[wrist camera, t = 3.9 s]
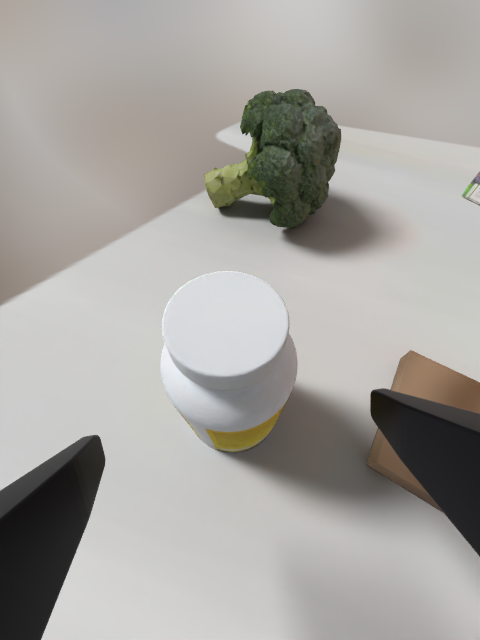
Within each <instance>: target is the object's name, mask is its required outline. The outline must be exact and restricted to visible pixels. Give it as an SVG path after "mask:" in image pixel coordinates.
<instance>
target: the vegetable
mask: <svg viewBox="0 0 480 640" xmlns="http://www.w3.org/2000/svg"><path fill="white" fill-rule="evenodd" d="M240 128H241V131H242V134H244V133H246V135H247V134H248V133H249V131H250V135H251V137H253V138H252V146H251V149H250V152H248V153H246V154H245V155H246V159H245V160H244V161H242V162H241V163H240V164H233V165H228V166H226V167H224V168H222V169H217V168H214V170H213V171H211V172H209V173H207V174H205V183H206V189H207V192H208V195H209V197H210V199H211V201H212V203H213V205H214V207H215V208H220V207H223V206H229V207H230V205H231V204H232V202H234V201H236V200H238V199H240V198H242V197H244V196H246V195H248V194H255V195H262V196H265V197H268V198H269V199H270V201H271V202H272V204H273V210H272V212H271V214H270V217H269V218H270V222H271V223H272V224H273V225H276V226H277V227H286V228H287V227H289V228H295V227H297V226H298V225H300V224H301V223H302V222H304V220H305V219H306V217H307V215H311V214H313V213H315V211H316V210H317V209H319V208H320V207H321V206H322V205H323V203H324V202H325V200H326V199H327V197H328V189H329V184H328V181H329V180H330V179H331V177H332V176H333V174H334V172H335V168H334V164H335V163H336V161H337V157H338V152H339V148H340V142H341V129H339V128H338V126H337V124H336V123H335V122H334V121H333V119H332V117H331V116H329V115H328V114H327V110H326V109H325V108H324V107H323V106H315V101H314V99H313V98H312V96H311V95H310V93H309V92H307V91H306V90H300V89H293V90H289V91H286V92H285V93H280V92H279V93H277V94H276V93H275V92H274V91H265V92H261V93H259V94H257V95H255V96H254V98H253V99H252V100H249V101H248V105H246V106H245V109H244V113H243V116H242V122H241V126H240Z"/></svg>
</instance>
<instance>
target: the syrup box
mask: <svg viewBox="0 0 480 640" xmlns="http://www.w3.org/2000/svg"><path fill="white" fill-rule="evenodd" d="M462 196H463V197H465V198H467V199H469V200H471V201H473V202H475V203H477V204H479V205H480V172H479V173H478V174H477V176H476V177H475V178H474V180H473V181H472V182H471V183H470V185H469V186H468V187H467V189H466V190H465V191H464V192H463V194H462Z"/></svg>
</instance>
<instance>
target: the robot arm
mask: <svg viewBox="0 0 480 640" xmlns="http://www.w3.org/2000/svg"><path fill="white" fill-rule="evenodd" d="M370 411H371V416H372V419H373V420H374V422H375V423H376V425H377V426H378V428H379V429H380V431H381V432H382V434H383V435H384V437H385V438H386V439H387V441H388V442H389V444H390V445H391V447H392V448H393V450H394V451H395V453H396V454H397V455H398V457H399V458H400V460H401V461H402V462H403V463H404V465H405V466H406V467H407V468H408V470H409V471H410V472H411V473H412V474H413V476H414V477H415V478H416V479H417V481H418V482H419V483H420V484H421V485H422V487H423V488H424V489H425V490H426V492H427V493H428V494H429V495H430V496H431V498H432V499H433V500H434V501H435V502H436V504H437V505H438V506H439V507H440V509H441V510H442V511H443V512H444V513H445V515H446V516H447V517H448V518H449V520H450V521H451V522H452V523H453V524H454V526H455V527H456V528H457V529H458V530H459V532H460V533H461V534H462V535H463V537H464V538H465V539H466V540H467V541H468V543H469V544H470V545H471V546H472V548H473V549H474V550H475V551H476V552H477V554H478V555H479V556H480V414H479V413H476V412H472V411H468V410H464V409H460V408H457V407H453V406H449V405H445V404H441V403H438V402H434V401H430V400H426V399H422V398H419V397H415V396H411V395H407V394H403V393H400V392H396V391H392V390H388V389H376V390H373V391H372V392H371V409H370ZM104 467H105V455H104V451H103V447H102V443H101V439H100V437H99V436H98V435H92V436H86V437H83V438H81V439H80V440H78V441H77V442H75V443H73V444H72V445H70V446H69V447H67V448H66V449H64V450H63V451H61V452H60V453H58V454H56V455H55V456H53V457H52V458H50V459H49V460H47V461H46V462H44V463H42V464H41V465H39V466H38V467H36V468H35V469H33V470H32V471H30V472H29V473H27V474H25V475H24V476H22V477H21V478H19V479H18V480H16V481H15V482H13V483H12V484H10V485H8V486H7V487H5V488H4V489H2V490H1V491H0V640H41V638H42V636H43V633H44V631H45V628H46V626H47V623H48V621H49V618H50V616H51V613H52V611H53V608H54V606H55V603H56V600H57V598H58V595H59V593H60V590H61V588H62V585H63V583H64V580H65V578H66V575H67V573H68V570H69V568H70V565H71V563H72V560H73V558H74V555H75V553H76V550H77V548H78V545H79V543H80V540H81V538H82V535H83V533H84V530H85V528H86V525H87V523H88V520H89V517H90V514H91V511H92V508H93V504H94V501H95V497H96V494H97V491H98V487H99V484H100V480H101V477H102V473H103V470H104Z"/></svg>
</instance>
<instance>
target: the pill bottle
mask: <svg viewBox="0 0 480 640" xmlns="http://www.w3.org/2000/svg"><path fill="white" fill-rule="evenodd" d="M162 334H163V339H164V342H165V344H164V347H163V351H162V355H161V377H162V382H163V385H164V388H165V391H166V393H167V395H168V397H169V399H170V401H171V402H172V404H173V405H174V406H175V408H176V409H177V410H178V412H179V413H180V414H181V415H182V417H183V418H184V419H185V420H186V421H187V423H188V424H189V425H190V426H191V428H192V429H193V431H194V432H195V433H196V435H197V436H198V437H199V438H200V439H201V440H202V441H203V442H204V443H205V444H207V445H208V446H210V447H212V448H214V449H216V450H219V451H223V452H230V453H235V452H242V451H246V450H249V449H251V448H253V447H255V446H257V445H258V444H259V443H261V442H262V441H263V440H264V439H265V438H266V437H267V436H268V434H269V433H270V432H271V430H272V429H273V427H274V425H275V423H276V421H277V419H278V417H279V415H280V413H281V411H282V409H283V407H284V405H285V403H286V402H287V400H288V398H289V396H290V394H291V392H292V389H293V387H294V383H295V380H296V375H297V354H296V349H295V346H294V343H293V340H292V338H291V336H290V334H289V315H288V311H287V308H286V305H285V303H284V301H283V299H282V298H281V296H280V295H279V294H278V293H277V292H276V290H275V289H274V288H273V287H272V286H270V285H269V284H268V283H266V282H265V281H263V280H261V279H260V278H257V277H255V276H253V275H250V274H246V273H242V272H235V271H219V272H213V273H208V274H205V275H202V276H199V277H197V278H194V279H192V280H191V281H189V282H187V283H186V284H185V285H183V286H182V287H181V288H180V289H178V290H177V291H176V293H175V294H174V295H173V296H172V297H171V299H170V300H169V302H168V304H167V306H166V308H165V311H164V314H163V318H162Z"/></svg>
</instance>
